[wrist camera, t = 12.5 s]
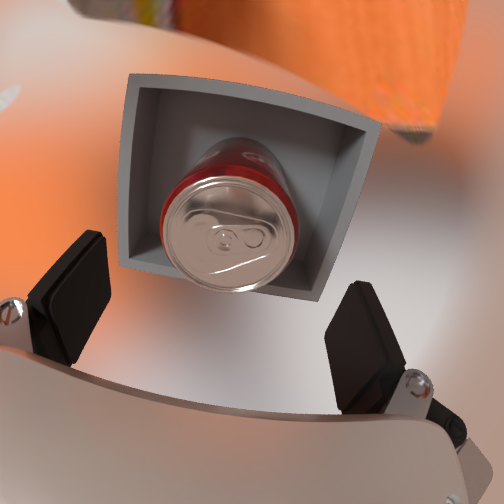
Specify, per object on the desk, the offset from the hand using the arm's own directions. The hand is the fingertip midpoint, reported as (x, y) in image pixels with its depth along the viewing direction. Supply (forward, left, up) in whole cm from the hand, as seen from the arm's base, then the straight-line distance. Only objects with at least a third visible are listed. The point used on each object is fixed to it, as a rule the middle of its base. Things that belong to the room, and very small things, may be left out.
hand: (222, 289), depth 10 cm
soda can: (0, 0, -16) cm, 16 cm away
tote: (0, 0, -17) cm, 17 cm away
